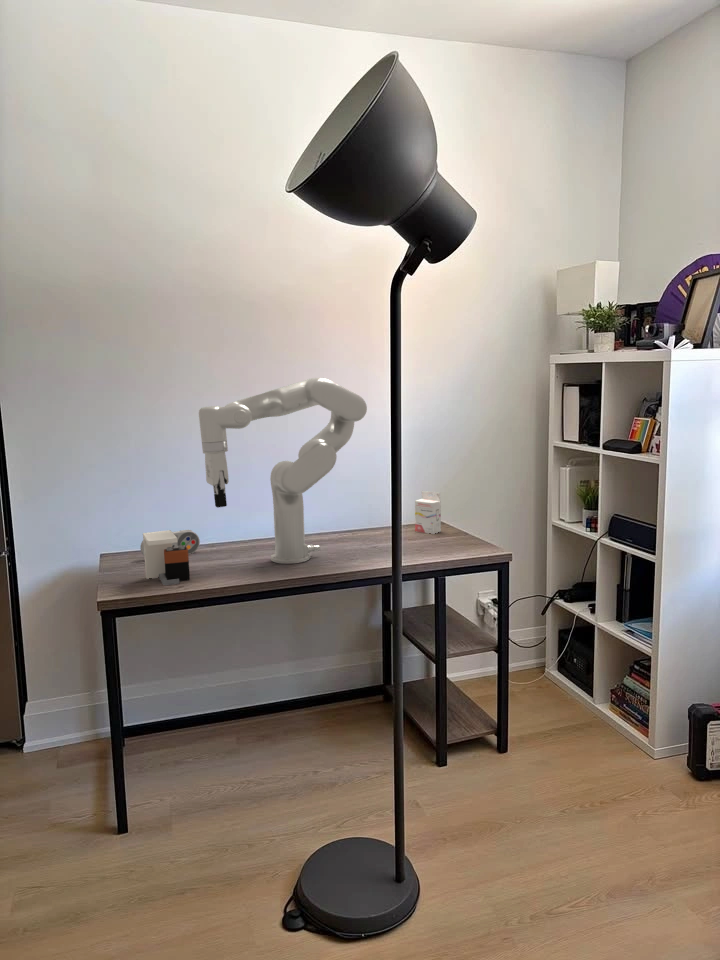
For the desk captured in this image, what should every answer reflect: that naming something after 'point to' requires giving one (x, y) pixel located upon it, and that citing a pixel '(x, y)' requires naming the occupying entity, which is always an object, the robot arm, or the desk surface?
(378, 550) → the desk surface
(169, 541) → the overhang shelf
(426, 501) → the ink cartridge box
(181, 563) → the battery
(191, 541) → the game controller
